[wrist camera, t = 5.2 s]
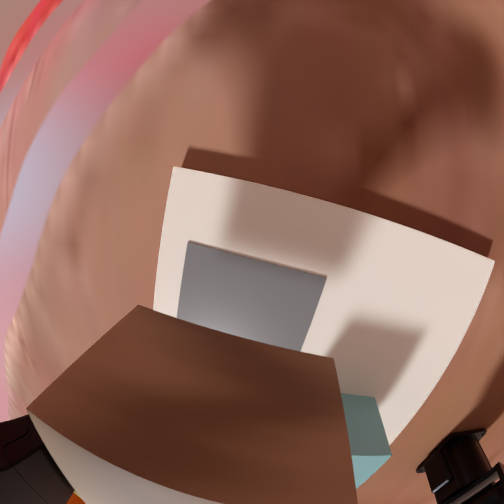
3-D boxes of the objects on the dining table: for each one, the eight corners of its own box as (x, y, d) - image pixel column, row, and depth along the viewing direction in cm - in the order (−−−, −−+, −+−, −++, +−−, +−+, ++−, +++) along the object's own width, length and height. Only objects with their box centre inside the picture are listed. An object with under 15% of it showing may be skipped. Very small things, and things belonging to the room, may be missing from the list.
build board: (486, 257, 13) (495, 261, 12) (386, 437, 17) (389, 447, 16) (180, 167, 14) (172, 166, 13) (154, 392, 18) (149, 402, 17)
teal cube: (374, 397, 15) (391, 455, 10) (343, 441, 16) (349, 494, 11) (302, 386, 15) (303, 451, 10) (278, 433, 16) (273, 490, 12)
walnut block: (333, 358, 7) (358, 513, 3) (276, 461, 9) (264, 561, 4) (138, 304, 8) (26, 408, 3) (139, 422, 9) (88, 507, 5)
